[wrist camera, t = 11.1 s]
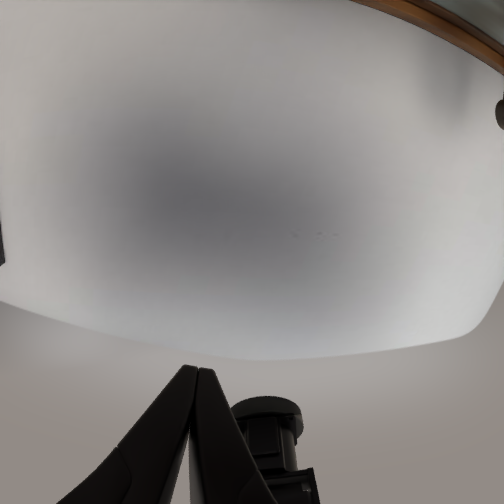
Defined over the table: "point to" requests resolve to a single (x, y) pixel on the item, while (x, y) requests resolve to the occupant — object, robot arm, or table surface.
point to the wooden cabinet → (439, 29)
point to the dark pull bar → (474, 25)
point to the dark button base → (1, 251)
